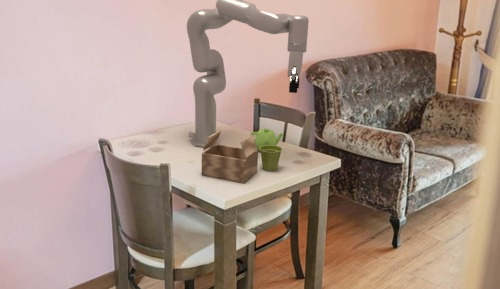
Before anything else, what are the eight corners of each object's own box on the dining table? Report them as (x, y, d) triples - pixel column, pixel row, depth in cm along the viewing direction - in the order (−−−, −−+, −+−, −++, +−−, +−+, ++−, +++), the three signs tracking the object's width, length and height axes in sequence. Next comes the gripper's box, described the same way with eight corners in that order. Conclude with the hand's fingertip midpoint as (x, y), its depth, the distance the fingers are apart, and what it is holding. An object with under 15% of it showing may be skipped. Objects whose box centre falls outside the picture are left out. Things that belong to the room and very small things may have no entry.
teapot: (265, 155, 215) (267, 134, 212) (247, 149, 222) (248, 128, 219) (283, 150, 223) (284, 129, 220) (264, 144, 230) (265, 124, 227)
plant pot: (257, 164, 204) (258, 144, 201) (279, 164, 205) (280, 144, 202) (259, 172, 195) (260, 152, 192) (283, 172, 196) (284, 152, 193)
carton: (201, 175, 190) (201, 153, 187) (216, 165, 201) (216, 144, 198) (244, 183, 183) (245, 160, 181) (257, 172, 195) (258, 150, 192)
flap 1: (203, 150, 188) (202, 150, 188) (216, 143, 197) (215, 142, 197) (209, 137, 185) (208, 136, 185) (221, 130, 195) (220, 129, 195)
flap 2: (256, 149, 191) (257, 149, 191) (245, 157, 182) (246, 157, 181) (251, 135, 190) (252, 134, 190) (240, 142, 181) (241, 142, 180)
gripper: (289, 44, 204) (286, 85, 209) (285, 49, 187) (282, 93, 193) (307, 45, 203) (304, 86, 208) (305, 51, 186) (301, 95, 192)
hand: (294, 90), depth 200 cm, fingers open, 9 cm apart
